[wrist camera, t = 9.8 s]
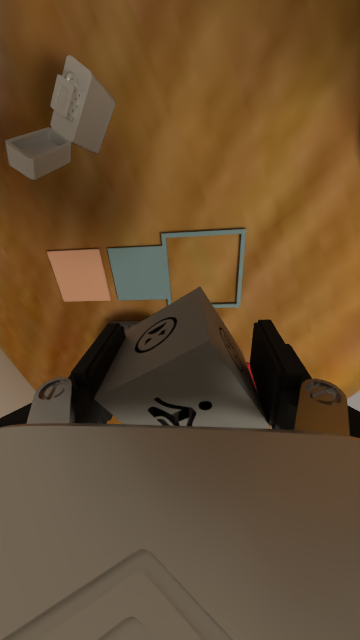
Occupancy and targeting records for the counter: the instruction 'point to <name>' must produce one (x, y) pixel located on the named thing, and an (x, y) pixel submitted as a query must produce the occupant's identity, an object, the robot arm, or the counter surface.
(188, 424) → the dice cube
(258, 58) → the counter surface
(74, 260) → the sorting mat
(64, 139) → the lighter
